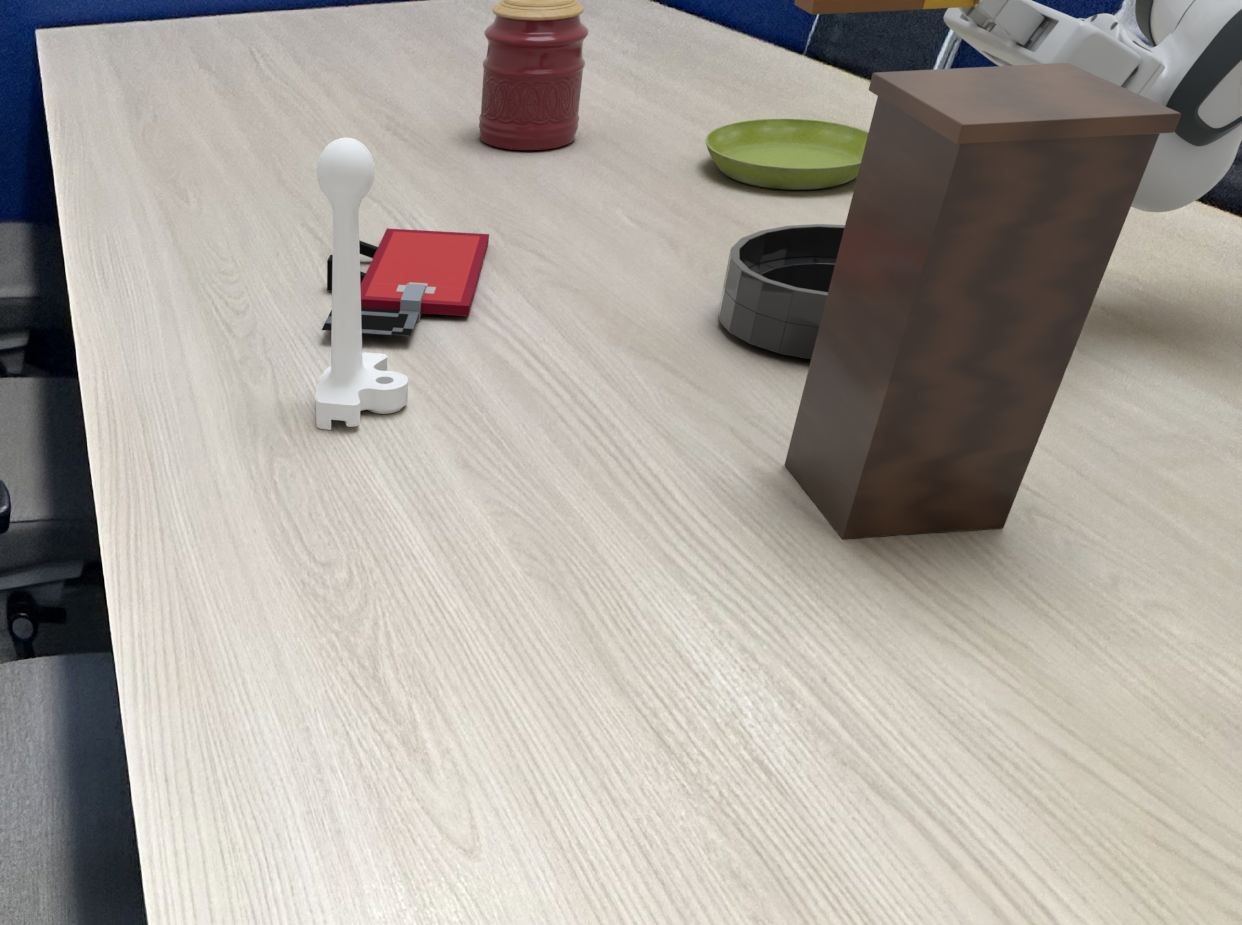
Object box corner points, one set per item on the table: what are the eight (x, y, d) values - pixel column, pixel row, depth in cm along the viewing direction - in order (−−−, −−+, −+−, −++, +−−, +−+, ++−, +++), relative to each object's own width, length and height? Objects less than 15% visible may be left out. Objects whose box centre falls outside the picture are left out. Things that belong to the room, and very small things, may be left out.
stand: (935, 452, 100) (1068, 62, 82) (1013, 531, 91) (1182, 113, 72) (775, 462, 100) (872, 72, 81) (838, 543, 90) (962, 124, 72)
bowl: (883, 285, 126) (902, 219, 122) (972, 361, 112) (996, 290, 108) (691, 296, 125) (703, 230, 121) (757, 374, 111) (773, 303, 107)
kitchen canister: (466, 130, 170) (475, -33, 158) (558, 122, 172) (574, -39, 159) (493, 156, 161) (505, -15, 149) (590, 148, 163) (610, -22, 150)
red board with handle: (301, 339, 119) (460, 349, 117) (301, 307, 117) (462, 318, 115) (352, 240, 140) (488, 248, 138) (353, 212, 138) (490, 219, 136)
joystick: (338, 375, 114) (335, 118, 99) (420, 382, 112) (429, 122, 98) (305, 427, 106) (296, 157, 92) (392, 435, 105) (397, 162, 90)
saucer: (687, 149, 161) (692, 119, 159) (851, 146, 160) (858, 116, 158) (717, 198, 147) (723, 167, 144) (897, 195, 146) (906, 164, 144)
